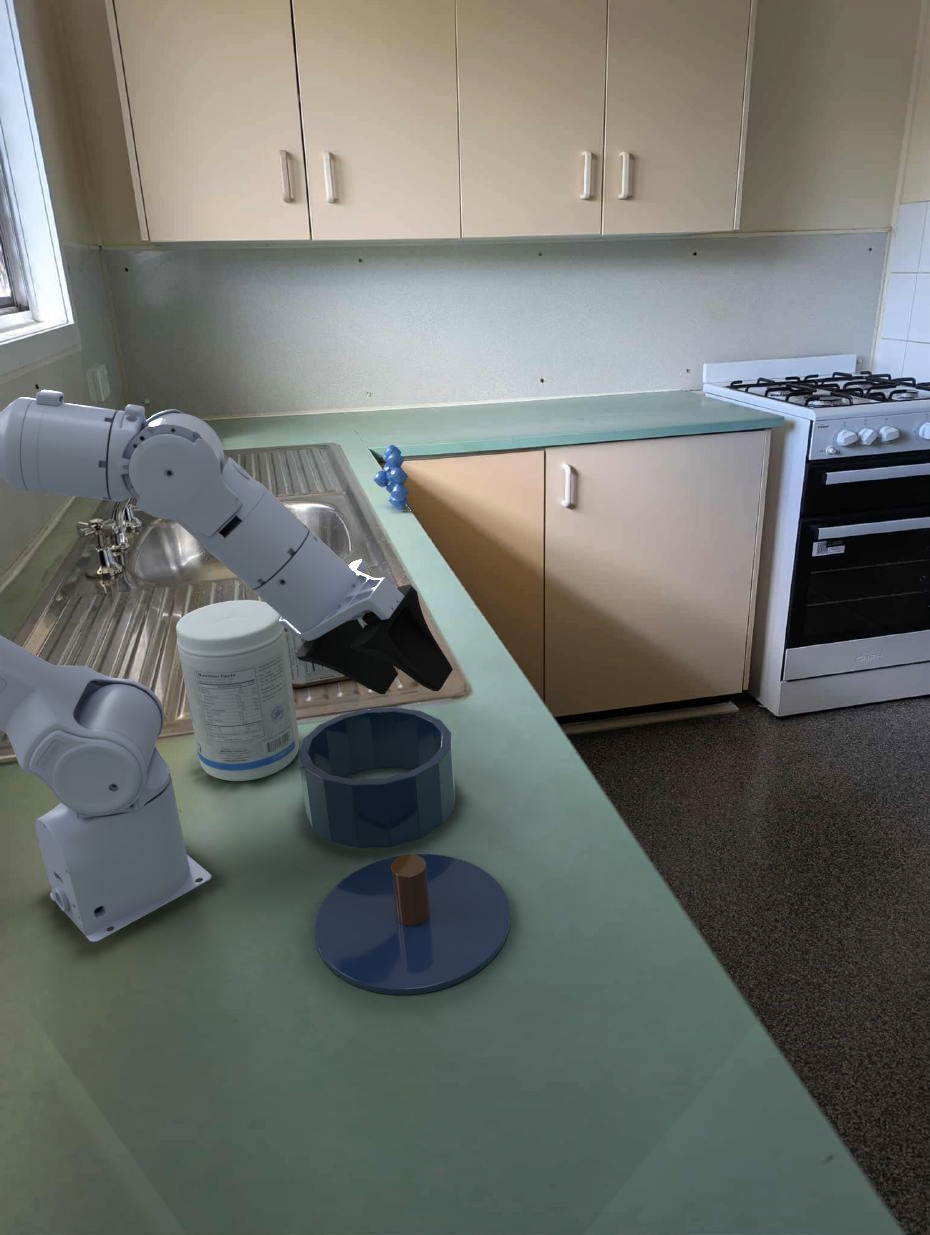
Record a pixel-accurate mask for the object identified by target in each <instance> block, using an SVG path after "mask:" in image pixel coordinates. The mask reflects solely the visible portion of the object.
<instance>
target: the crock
mask: <svg viewBox="0 0 930 1235" xmlns="http://www.w3.org/2000/svg"><path fill="white" fill-rule="evenodd" d="M452 739H453V738H452V731H451V730H450V729H449V728H448V727H447V726H446V725H445V723H444V722H443V721H442V720H441V719H439V718H438V717H434V716H433V715H431V714H428V713H426V712H424V711H421V710H417V709H409V708H404V707H403V708H402V707H394V706H393V707H372V708H363V709H360V710H356V711H351V712H347V713H343V714H340V715H338V716H336V717H333V718H330V719H329V720H327V721H325V722H322V723H320V724H319V725H318V726H316V727H315V728H314V729H313V730H312V731H310V732H309V733H308V734H307V735H306V736H305V737H304V738H303V739H302V742H301V745H300V747H299V750H298V753H297V756H298V764H299V770H300V771H299V772H300V777H301V778H300V779H301V786H302V791H303V792H302V793H303V798H304V806H305V807H304V808H305V813H306V817H307V819H308V821H309V823H310V826H311V829H312V830H313V831H314V832H316V833H317V834H319V835H320V836H321V837H323V838H324V839H326V840H328V841H329V842H330V843H334V844H339V845H342V846H343V845H344V846H348V847H352V848H356V849H373V848H390V847H395V846H398V845H399V846H400V845H401V844H405V843H409V842H412V841H416V840H419V839H421V838H424V837H425V836H427V835H428V834H429V833H431V832H433V831H435V830H436V829H438V828H439V827H441V826H442V825H443V824H444V823H445V822H446V821H447V819H448V818H449V817H450V815H451V813H452V812H453V811H454V810H455V808H456V805H455V804H456V786H455V785H456V784H455V770H454V755H453V740H452ZM379 769H404V770H408V771H407V772H404V773H403V772H402V773H399V774H395V775H392V776H389V777H383V778H364V779H363V778H362V779H360V778H359V779H353V778H349V777H350V776H353V775H357V774H360V773H364V772H368V771H372V770H379Z"/></svg>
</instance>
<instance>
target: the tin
mask: <svg viewBox="0 0 930 1235" xmlns="http://www.w3.org/2000/svg"><path fill="white" fill-rule="evenodd" d="M358 621H359V623H360V624H361V626H362V628H364V626H365V625H367V624H366V623H365V622H364V621H363V620H362V618H359V619H358ZM284 631H285V637H286V644H287V651H288V659H289V667H290V674H291V682H292V688H305V687H310V686H317V685H322V684H327V683H334V682H339V681H345V680H351V679H350V678H348V677H346V676H345V675H343V674H341V673H338V672H336V671H334V670H332V669H329V668H327V667H324V666H321V665H318V664H314V663H310V662H306V661H301V660H299V659H298V658H297V657H296V654H297V652H298V650H299V649H300V647H301V646H302V645H303V643H304V642H305V640H304V639H303V638H301V637H295V636H294V635H293V634H291V633H290V632H289V631H288V630H287V629H286V628H285V627H284Z"/></svg>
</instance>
